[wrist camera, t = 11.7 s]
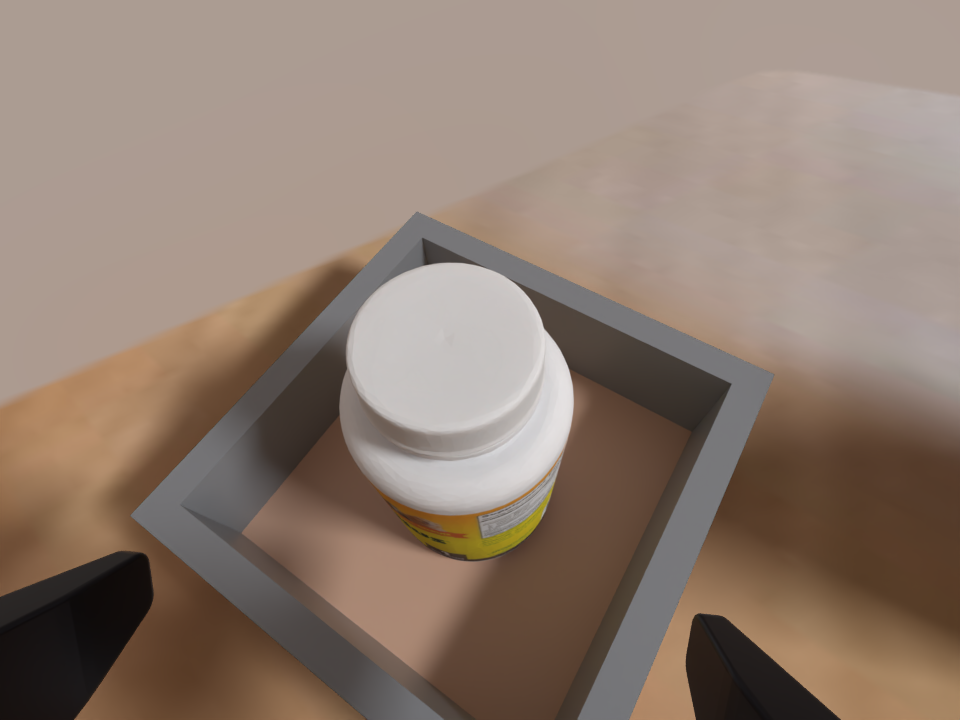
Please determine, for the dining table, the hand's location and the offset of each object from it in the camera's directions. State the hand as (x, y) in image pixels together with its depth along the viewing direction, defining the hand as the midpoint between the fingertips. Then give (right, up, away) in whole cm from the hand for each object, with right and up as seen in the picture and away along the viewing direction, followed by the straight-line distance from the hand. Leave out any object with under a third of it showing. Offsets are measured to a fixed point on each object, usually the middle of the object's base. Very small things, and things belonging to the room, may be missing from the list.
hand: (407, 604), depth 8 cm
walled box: (+1, -1, +11) cm, 12 cm away
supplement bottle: (+1, -1, +11) cm, 11 cm away
